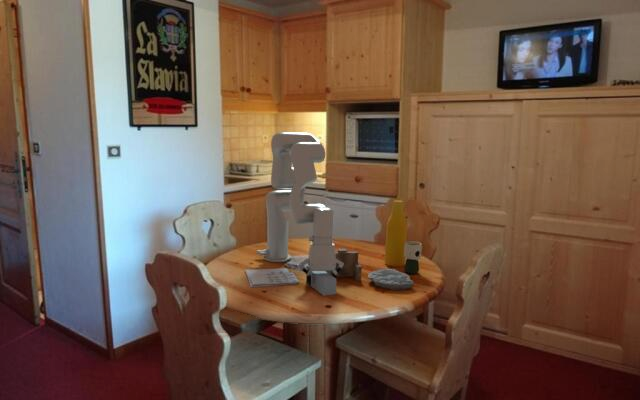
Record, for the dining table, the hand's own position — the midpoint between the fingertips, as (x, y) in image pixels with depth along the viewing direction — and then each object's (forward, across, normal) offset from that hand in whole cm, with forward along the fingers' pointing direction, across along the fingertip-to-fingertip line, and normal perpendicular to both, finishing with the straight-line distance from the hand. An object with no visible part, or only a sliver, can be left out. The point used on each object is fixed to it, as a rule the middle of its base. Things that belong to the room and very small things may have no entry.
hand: (321, 284), depth 181 cm
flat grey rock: (+2, +28, +2) cm, 28 cm away
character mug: (+2, +42, +14) cm, 44 cm away
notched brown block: (+1, +11, +10) cm, 15 cm away
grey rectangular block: (+2, 0, 0) cm, 2 cm away
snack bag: (+2, -18, +14) cm, 23 cm away
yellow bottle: (+2, +39, +27) cm, 47 cm away
